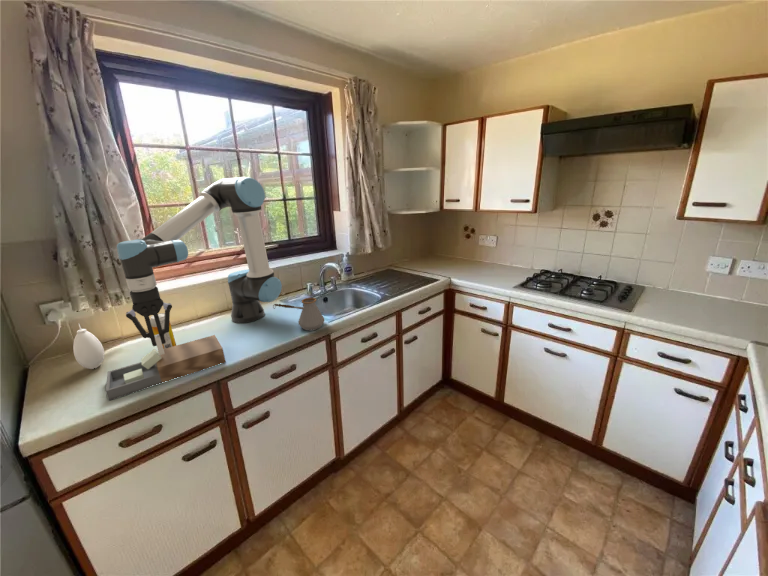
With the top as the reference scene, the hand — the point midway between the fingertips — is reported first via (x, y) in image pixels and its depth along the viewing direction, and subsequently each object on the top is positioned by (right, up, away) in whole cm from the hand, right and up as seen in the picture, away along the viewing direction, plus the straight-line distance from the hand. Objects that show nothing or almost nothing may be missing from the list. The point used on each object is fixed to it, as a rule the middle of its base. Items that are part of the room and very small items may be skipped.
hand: (161, 352), depth 114 cm
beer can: (-10, -3, +18) cm, 21 cm away
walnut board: (+6, -6, +7) cm, 11 cm away
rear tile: (-2, -3, -1) cm, 3 cm away
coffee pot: (+41, +4, +31) cm, 52 cm away
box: (-7, -9, -2) cm, 12 cm away
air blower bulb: (-30, -7, +8) cm, 32 cm away
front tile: (-7, -6, -4) cm, 10 cm away
